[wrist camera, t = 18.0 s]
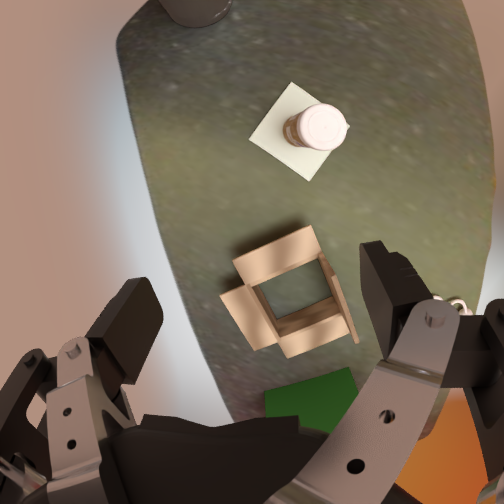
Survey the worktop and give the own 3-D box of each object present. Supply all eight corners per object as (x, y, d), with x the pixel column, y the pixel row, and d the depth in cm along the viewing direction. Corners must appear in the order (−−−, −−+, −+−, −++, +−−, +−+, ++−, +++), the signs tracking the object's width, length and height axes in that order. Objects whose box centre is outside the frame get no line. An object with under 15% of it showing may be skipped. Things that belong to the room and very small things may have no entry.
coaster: (248, 139, 38) (248, 139, 37) (290, 82, 35) (291, 81, 34) (308, 180, 40) (309, 181, 39) (348, 125, 37) (349, 125, 36)
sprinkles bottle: (280, 144, 38) (296, 146, 25) (284, 112, 36) (302, 98, 23) (313, 149, 38) (344, 155, 25) (317, 117, 36) (351, 108, 24)
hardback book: (274, 410, 58) (282, 506, 36) (264, 391, 55) (270, 495, 33) (352, 388, 56) (383, 480, 34) (348, 366, 53) (384, 467, 31)
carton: (263, 347, 51) (266, 398, 40) (209, 258, 44) (198, 299, 33) (343, 314, 48) (365, 360, 37) (303, 215, 42) (324, 244, 31)
